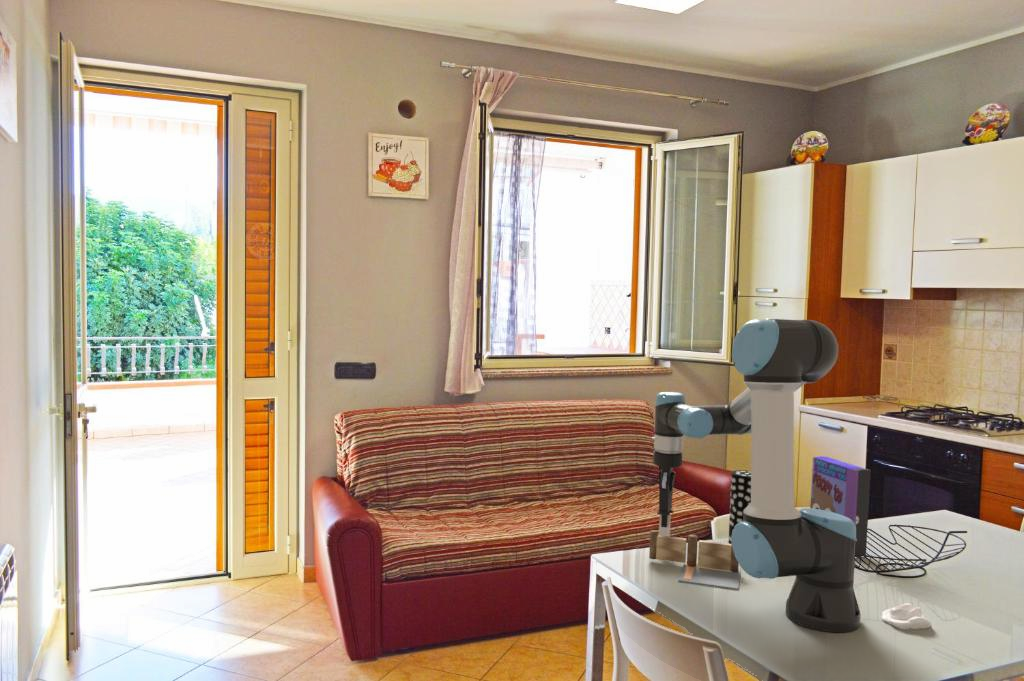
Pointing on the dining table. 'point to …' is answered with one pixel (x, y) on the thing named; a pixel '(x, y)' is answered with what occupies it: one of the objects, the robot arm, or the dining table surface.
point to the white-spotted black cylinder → (739, 497)
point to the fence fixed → (711, 555)
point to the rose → (905, 617)
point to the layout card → (710, 577)
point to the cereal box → (842, 494)
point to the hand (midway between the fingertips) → (664, 537)
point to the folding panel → (667, 547)
